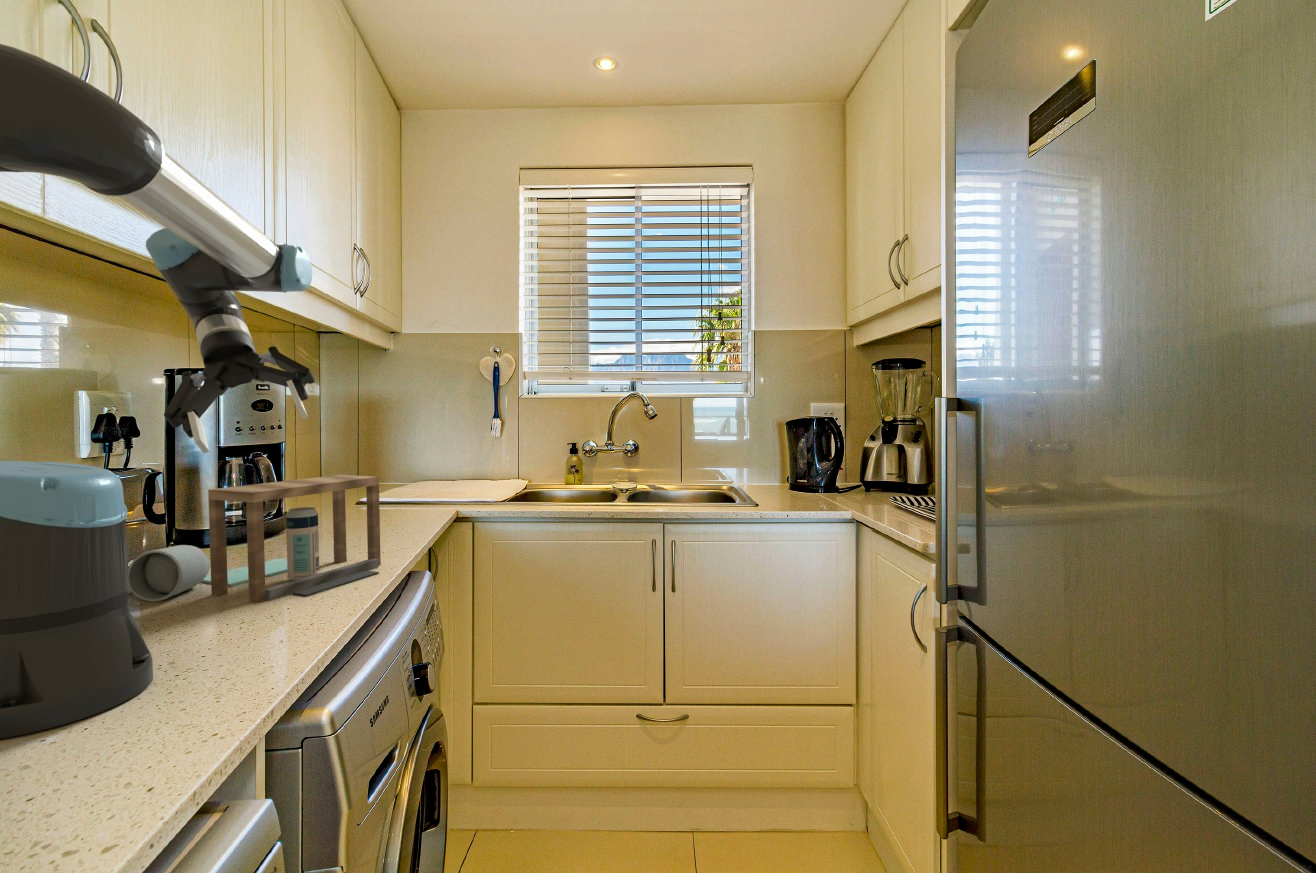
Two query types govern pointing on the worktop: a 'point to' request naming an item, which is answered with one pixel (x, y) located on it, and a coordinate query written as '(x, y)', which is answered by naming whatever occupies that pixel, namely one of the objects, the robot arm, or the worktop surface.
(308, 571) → the beer can
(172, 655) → the worktop surface
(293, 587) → the tunnel
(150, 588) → the ceramic mug
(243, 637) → the worktop surface
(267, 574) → the mat
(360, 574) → the mat
